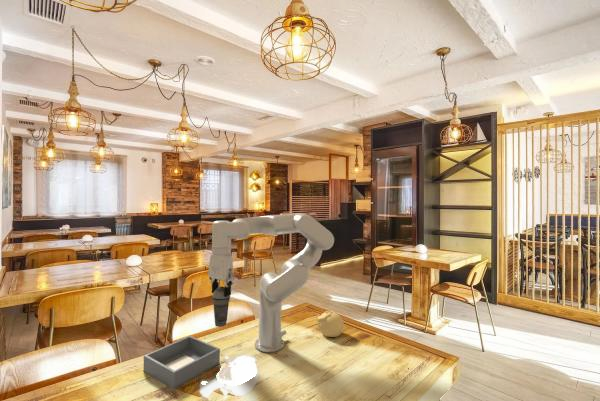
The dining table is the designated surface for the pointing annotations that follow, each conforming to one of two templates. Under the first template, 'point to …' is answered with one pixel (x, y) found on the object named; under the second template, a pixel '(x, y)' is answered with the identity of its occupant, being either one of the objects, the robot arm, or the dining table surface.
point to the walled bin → (181, 361)
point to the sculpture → (330, 324)
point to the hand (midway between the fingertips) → (221, 293)
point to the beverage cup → (220, 306)
